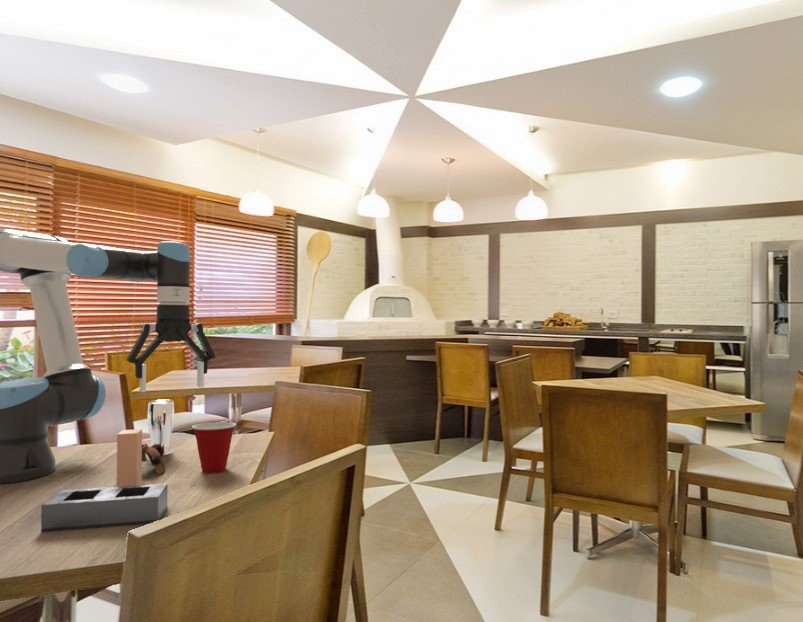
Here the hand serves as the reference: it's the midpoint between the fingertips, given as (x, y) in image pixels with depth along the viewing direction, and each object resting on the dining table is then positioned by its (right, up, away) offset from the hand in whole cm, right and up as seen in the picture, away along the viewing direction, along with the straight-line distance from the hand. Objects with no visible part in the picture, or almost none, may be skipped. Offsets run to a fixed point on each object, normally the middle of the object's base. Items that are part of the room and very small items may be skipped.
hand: (172, 389), depth 128 cm
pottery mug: (-8, -22, +3) cm, 23 cm away
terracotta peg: (-4, -21, -13) cm, 26 cm away
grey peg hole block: (-1, -21, -27) cm, 34 cm away
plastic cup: (+9, -22, +5) cm, 24 cm away
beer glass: (-12, -22, +20) cm, 32 cm away
